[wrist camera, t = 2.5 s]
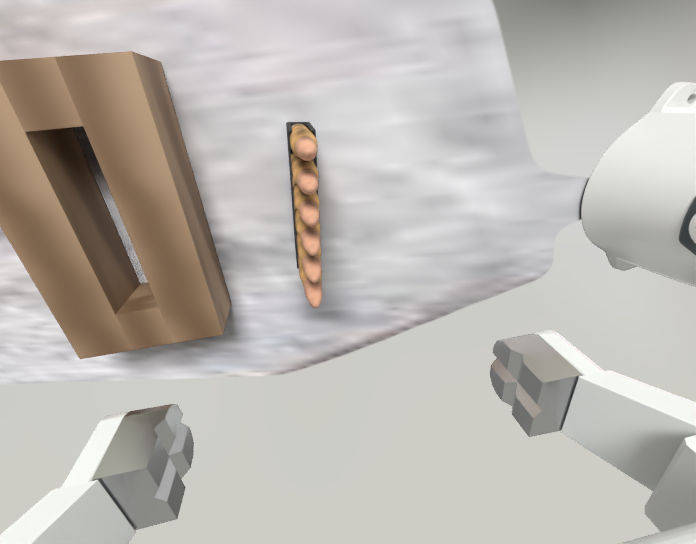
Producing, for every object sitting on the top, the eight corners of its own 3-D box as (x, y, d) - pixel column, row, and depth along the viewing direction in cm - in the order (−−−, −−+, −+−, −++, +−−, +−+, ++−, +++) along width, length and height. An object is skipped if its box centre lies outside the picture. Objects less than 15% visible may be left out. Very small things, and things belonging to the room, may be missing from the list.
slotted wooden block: (160, 61, 23) (131, 51, 19) (231, 303, 32) (223, 334, 28) (-19, 75, 22) (-95, 67, 17) (108, 323, 31) (80, 359, 27)
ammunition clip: (315, 246, 31) (331, 318, 21) (295, 247, 31) (301, 321, 20) (309, 122, 26) (327, 133, 16) (286, 122, 26) (288, 133, 16)
